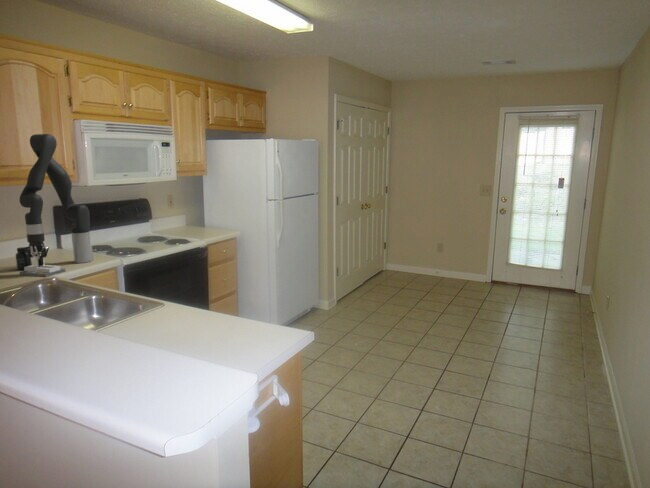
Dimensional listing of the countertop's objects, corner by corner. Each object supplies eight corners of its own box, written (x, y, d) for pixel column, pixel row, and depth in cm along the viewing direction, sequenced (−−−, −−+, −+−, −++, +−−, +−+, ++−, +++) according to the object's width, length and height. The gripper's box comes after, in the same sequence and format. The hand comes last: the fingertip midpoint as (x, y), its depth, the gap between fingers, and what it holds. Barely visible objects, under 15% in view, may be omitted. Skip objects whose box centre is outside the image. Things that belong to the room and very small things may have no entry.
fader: (40, 268, 237) (38, 254, 236) (46, 269, 236) (44, 255, 234) (33, 270, 233) (31, 256, 231) (39, 271, 232) (37, 256, 230)
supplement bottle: (35, 268, 246) (32, 246, 244) (24, 270, 239) (21, 248, 237) (25, 267, 248) (22, 246, 246) (14, 270, 241) (11, 248, 239)
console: (40, 269, 242) (39, 263, 241) (65, 271, 237) (64, 264, 237) (19, 274, 231) (18, 268, 230) (45, 276, 226) (45, 270, 225)
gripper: (51, 232, 232) (55, 264, 235) (31, 231, 236) (35, 263, 239) (39, 234, 225) (43, 267, 228) (18, 233, 229) (22, 266, 232)
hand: (39, 265), depth 234 cm, fingers closed on fader, 2 cm apart
